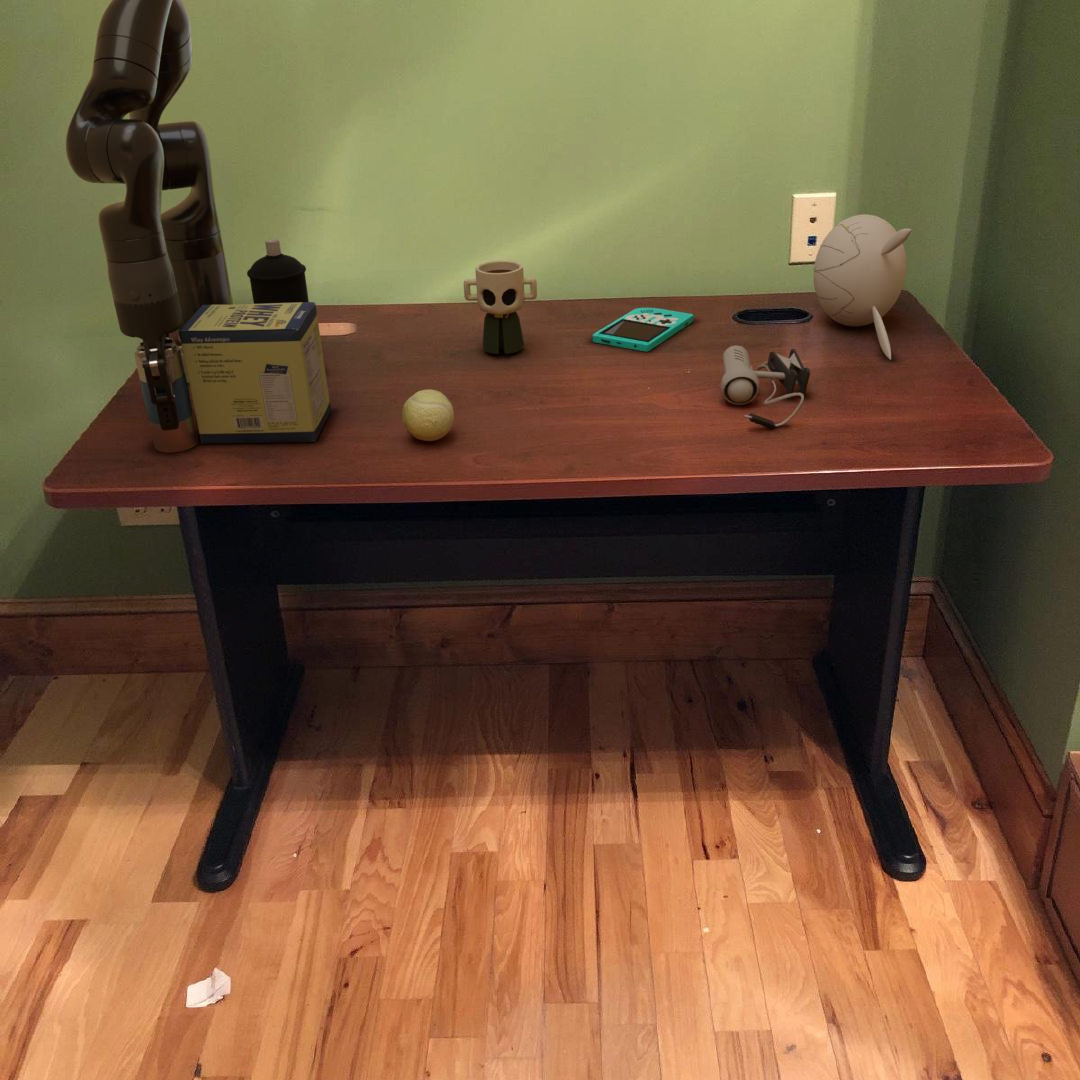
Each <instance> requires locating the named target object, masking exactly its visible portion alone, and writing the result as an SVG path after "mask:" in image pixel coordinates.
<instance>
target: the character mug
mask: <svg viewBox="0 0 1080 1080" xmlns="http://www.w3.org/2000/svg"><path fill="white" fill-rule="evenodd" d="M524 276H525V275H524V266H523V264H522V263H520V262H518V261H514V260H502V259H501V260H491V261H486V262H483V263H480V264H478V265H476V267H475V278H466V279H464V280H463V295H464V299H465V301H468V302H472V301H473V302H477V305H478V308H479V310H480V311H482V312H484V313H486V314H485V315H484V317H483V318H484V320H483V331H482V348H483V350H484V351H485V352H487V353H488V354H495V355H499V354H500V350H503V351H504V354H505V355H508V354H514V353H517V352H519V351H521V350H522V349H523V347H524V345H525V344H524V337H523V330H522V325H521V319H520V316H519V315H518V313H517V312H518V311H520V310H522V309H523V307H524V305H525V301H532V300H536V299H537V297H538V283H537V279H536V278H534V277H524ZM525 285H529V290H530V292H528V293H527V292H526V293H525ZM471 286H476V287H475V288H476V294H474V293H473V294H472V292H471V291H472V290H471Z"/></svg>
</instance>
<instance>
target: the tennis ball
mask: <svg viewBox="0 0 1080 1080" xmlns="http://www.w3.org/2000/svg"><path fill="white" fill-rule="evenodd" d="M401 412H402V413H401V414H402V422H401V423H402V424H403V425H404V428H405V429H406V431H407V432H408V433H410V434H411V435H412V437H413V438H415V439H417V440H420V441H423V442H434V441H439V440H440V439H442V438H443V437H445V436H446V435H447V434H448V433H449V432H450V430H451V429H452V427H453V424H454V421H455V420H454V419H455V411H454V406H453V404H452V403H451V401H450V399H449V398H448V397H447V396H446V395H445V394H443V392H442V391H439V390H436V389H421V390H418V391H417V392H415V393H413V394H412V395H411V396H410V397H409V398H407V400H406V401H405V403H404V404H403V408H402V411H401Z"/></svg>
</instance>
